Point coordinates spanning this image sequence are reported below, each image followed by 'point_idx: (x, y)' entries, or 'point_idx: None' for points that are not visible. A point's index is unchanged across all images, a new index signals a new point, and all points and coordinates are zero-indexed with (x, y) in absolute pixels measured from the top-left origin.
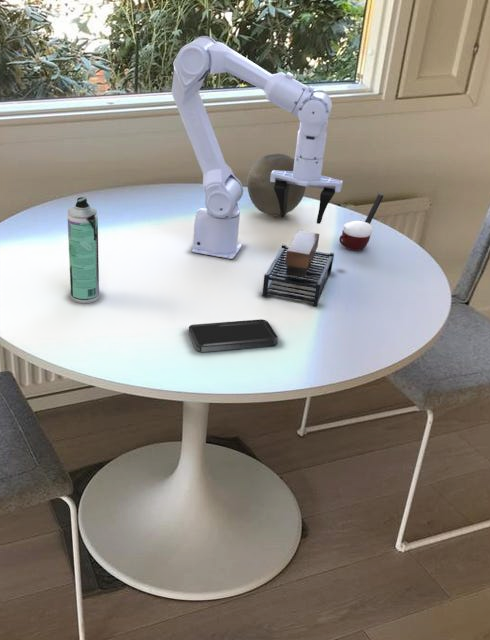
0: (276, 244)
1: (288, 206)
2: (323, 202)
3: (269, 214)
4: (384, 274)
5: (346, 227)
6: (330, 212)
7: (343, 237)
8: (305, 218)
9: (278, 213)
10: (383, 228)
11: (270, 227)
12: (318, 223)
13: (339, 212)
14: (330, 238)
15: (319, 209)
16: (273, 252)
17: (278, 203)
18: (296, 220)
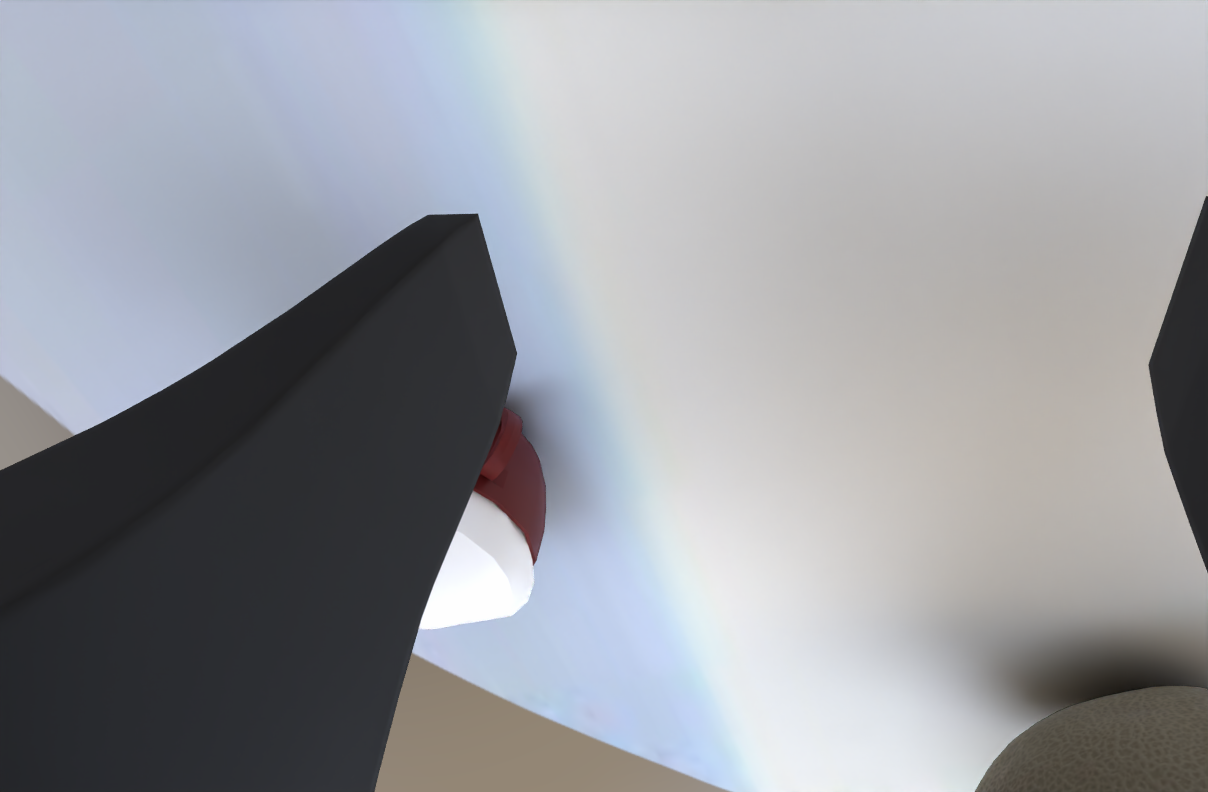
0: (1098, 294)
1: (1055, 754)
2: (59, 501)
3: (1199, 687)
4: (54, 115)
5: (472, 543)
6: (772, 761)
7: (506, 470)
8: (904, 696)
9: (1124, 696)
10: (450, 669)
11: (1171, 555)
12: (442, 217)
13: (726, 765)
14: (666, 514)
15: (301, 373)
16: (1125, 101)
17: (1168, 769)
18: (962, 669)
